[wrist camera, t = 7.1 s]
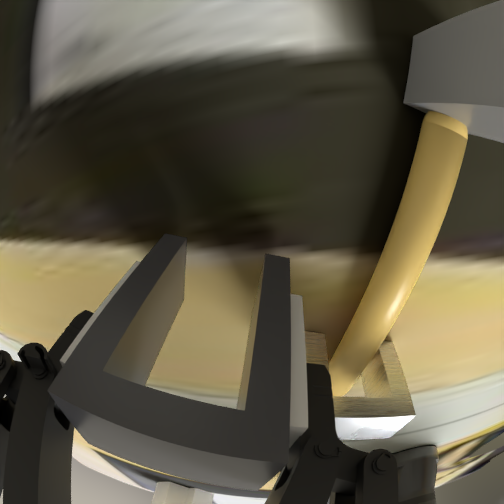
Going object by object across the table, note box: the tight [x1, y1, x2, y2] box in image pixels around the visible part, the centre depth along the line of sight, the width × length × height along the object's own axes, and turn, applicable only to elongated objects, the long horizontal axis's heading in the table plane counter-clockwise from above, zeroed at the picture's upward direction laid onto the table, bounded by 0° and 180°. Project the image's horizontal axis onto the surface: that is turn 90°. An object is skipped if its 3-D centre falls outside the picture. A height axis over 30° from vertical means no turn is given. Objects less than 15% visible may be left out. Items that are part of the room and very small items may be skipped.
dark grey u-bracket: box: [48, 234, 291, 491], centre depth 10 cm, size 4×6×10 cm, turn 80°
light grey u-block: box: [305, 331, 416, 440], centre depth 15 cm, size 3×7×6 cm, turn 80°
